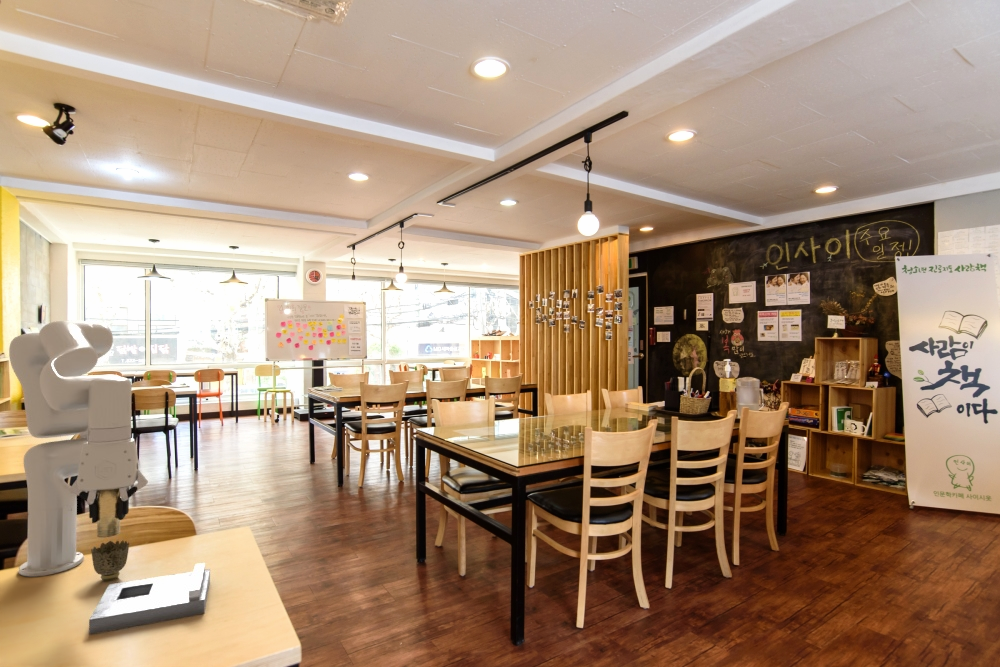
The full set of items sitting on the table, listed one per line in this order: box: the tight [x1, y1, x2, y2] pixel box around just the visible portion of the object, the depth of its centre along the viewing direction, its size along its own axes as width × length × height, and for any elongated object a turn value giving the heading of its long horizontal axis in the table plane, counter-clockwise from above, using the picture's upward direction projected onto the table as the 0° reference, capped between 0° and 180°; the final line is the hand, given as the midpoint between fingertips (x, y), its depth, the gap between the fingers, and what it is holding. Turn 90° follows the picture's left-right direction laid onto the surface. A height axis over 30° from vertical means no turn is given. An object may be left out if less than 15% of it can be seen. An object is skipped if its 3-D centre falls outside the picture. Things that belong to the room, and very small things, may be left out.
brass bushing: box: [96, 488, 121, 539], centre depth 114 cm, size 4×4×10 cm
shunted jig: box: [88, 562, 211, 636], centre depth 116 cm, size 16×20×5 cm
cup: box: [90, 540, 130, 582], centre depth 129 cm, size 8×7×8 cm
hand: (109, 518), depth 114 cm, fingers closed on brass bushing, 4 cm apart
